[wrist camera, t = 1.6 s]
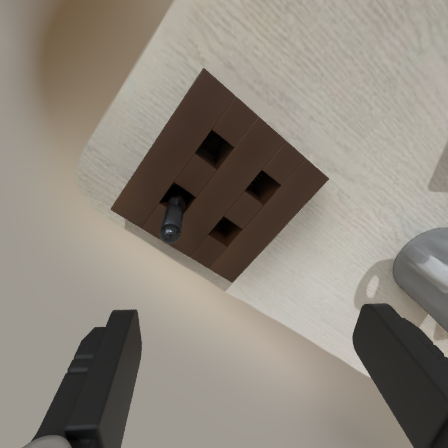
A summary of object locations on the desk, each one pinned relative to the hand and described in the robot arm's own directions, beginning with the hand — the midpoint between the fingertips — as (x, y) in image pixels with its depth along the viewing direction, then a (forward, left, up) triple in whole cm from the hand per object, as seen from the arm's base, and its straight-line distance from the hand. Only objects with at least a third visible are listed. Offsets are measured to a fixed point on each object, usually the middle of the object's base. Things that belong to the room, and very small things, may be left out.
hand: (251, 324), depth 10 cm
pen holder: (0, 0, -21) cm, 21 cm away
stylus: (-3, -3, -21) cm, 22 cm away
